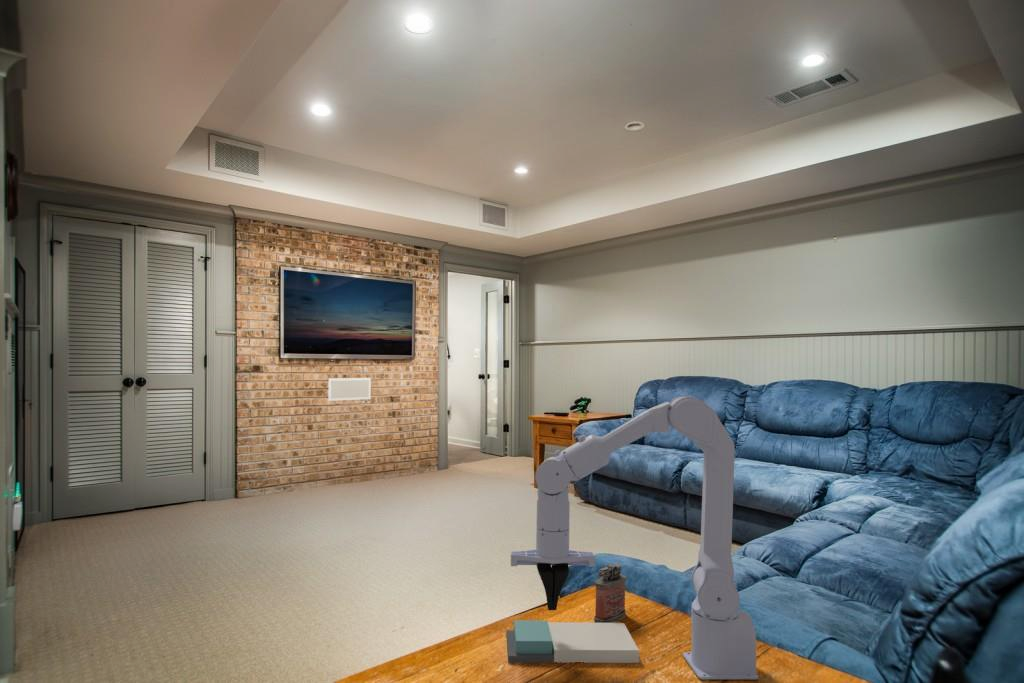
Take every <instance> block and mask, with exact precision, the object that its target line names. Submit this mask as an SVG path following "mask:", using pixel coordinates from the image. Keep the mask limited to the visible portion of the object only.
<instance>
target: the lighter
mask: <svg viewBox="0 0 1024 683" xmlns="http://www.w3.org/2000/svg"><path fill="white" fill-rule="evenodd" d="M621 572H622V565H621V564H617V563H616V564H611V563H608V564H607V565H606V566H605V567H602V568H600V569H599V570H598V579H595V580H594V586H595V615H594V618H593V619H594V620H593V621H595V622H594V623H617V622H619V621H620V620H623V618H625V617H626V615H627V614H626V613H627V611H626V608H625V606H626V581H627V576H626V575H625V574H623V573H621Z"/></svg>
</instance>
